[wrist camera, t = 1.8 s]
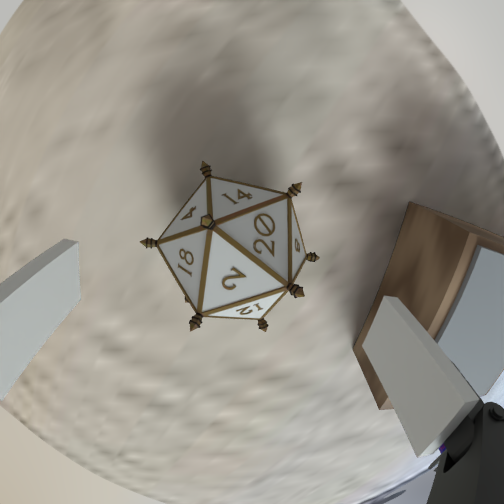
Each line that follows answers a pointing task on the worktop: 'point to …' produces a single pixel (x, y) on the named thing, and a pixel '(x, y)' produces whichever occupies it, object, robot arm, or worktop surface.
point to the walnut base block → (446, 294)
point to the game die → (234, 249)
